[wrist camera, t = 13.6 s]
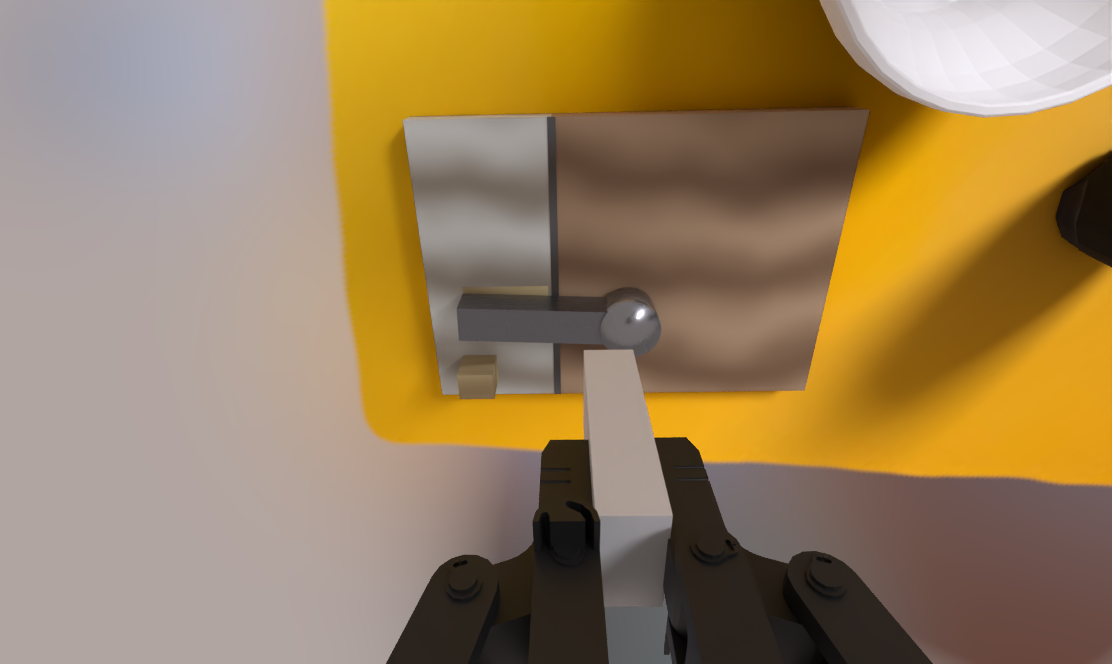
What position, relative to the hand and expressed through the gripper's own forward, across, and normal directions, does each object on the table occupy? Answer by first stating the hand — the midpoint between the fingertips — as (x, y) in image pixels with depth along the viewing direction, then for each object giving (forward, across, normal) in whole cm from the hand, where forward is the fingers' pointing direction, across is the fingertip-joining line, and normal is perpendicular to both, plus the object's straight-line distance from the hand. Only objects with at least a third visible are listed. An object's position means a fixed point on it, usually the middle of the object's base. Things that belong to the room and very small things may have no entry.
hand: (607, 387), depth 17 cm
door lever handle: (+20, -2, -7) cm, 21 cm away
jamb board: (+22, +3, -4) cm, 23 cm away
